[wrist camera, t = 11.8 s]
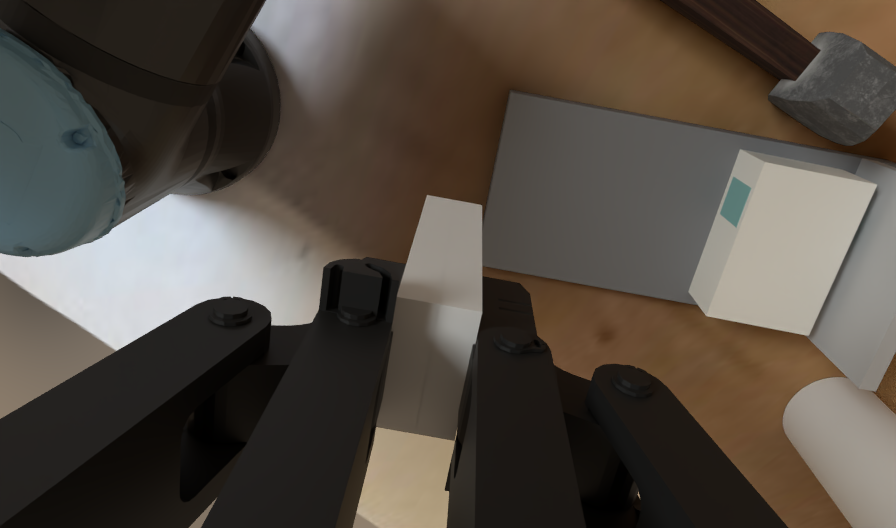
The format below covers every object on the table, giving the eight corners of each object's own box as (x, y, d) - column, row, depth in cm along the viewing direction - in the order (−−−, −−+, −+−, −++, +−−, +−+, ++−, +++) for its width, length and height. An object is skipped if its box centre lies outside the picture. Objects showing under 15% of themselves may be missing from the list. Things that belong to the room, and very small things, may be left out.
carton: (687, 291, 52) (705, 315, 48) (739, 149, 48) (764, 162, 44) (782, 310, 52) (809, 336, 48) (843, 169, 48) (877, 184, 44)
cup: (782, 383, 57) (887, 513, 42) (879, 371, 56) (1021, 499, 41) (782, 457, 60) (881, 603, 45) (874, 446, 59) (1006, 592, 44)
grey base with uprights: (475, 256, 54) (473, 319, 43) (509, 89, 49) (518, 111, 38) (817, 318, 55) (904, 396, 44) (887, 160, 50) (1005, 203, 38)
